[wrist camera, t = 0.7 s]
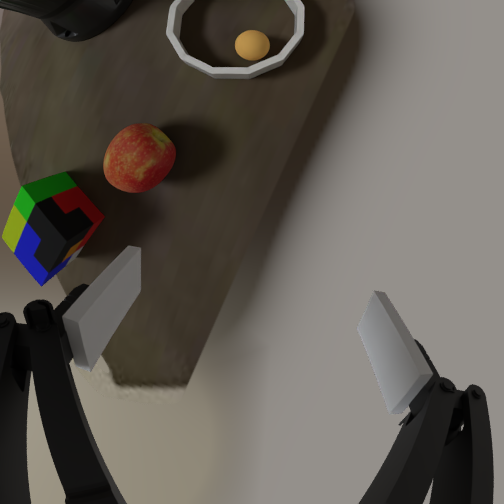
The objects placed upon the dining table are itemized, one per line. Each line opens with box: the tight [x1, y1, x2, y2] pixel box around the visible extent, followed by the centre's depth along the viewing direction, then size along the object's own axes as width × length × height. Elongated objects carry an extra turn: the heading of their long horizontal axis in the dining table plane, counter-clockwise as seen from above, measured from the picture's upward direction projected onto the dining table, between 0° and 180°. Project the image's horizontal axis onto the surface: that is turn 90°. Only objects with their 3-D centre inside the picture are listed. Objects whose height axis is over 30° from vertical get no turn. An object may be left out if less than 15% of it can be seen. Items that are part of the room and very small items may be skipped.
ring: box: [166, 0, 304, 79], centre depth 25 cm, size 16×16×3 cm
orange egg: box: [235, 30, 270, 60], centre depth 26 cm, size 4×4×4 cm
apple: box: [103, 123, 176, 193], centre depth 30 cm, size 8×8×8 cm
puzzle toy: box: [2, 172, 105, 286], centre depth 33 cm, size 10×10×10 cm
